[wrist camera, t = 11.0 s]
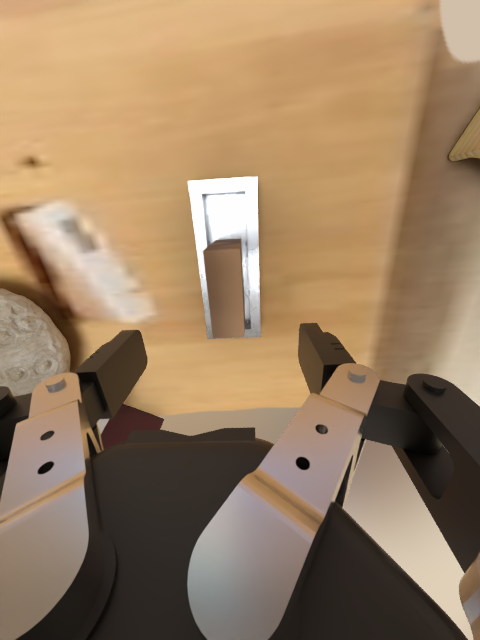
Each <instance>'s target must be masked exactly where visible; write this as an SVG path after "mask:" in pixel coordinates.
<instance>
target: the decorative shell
mask: <svg viewBox="0 0 480 640" xmlns="http://www.w3.org/2000/svg"><path fill="white" fill-rule="evenodd" d="M70 357H71V356H70V351H69V346H68V343H67V341H66V339H65V338H64V336H63V335H62V333H61V332H60V330H59V329H58V328H57V327H56V326H55V325H54V323H53V322H52V320H51V318H50V317H49V316H48V315H47V314H46V313H45V312H44V311H43V310H42V309H41V308H40V307H38V306H37V305H36V304H35V303H33V302H32V301H31V300H30V299H28V298H26V297H24V296H22V295H17V294H15V293H13V292H10V291H8V290H6V289H0V386H6V387H8V388H9V389H10V391H11V392H12V394H13V396H14V397H15V396H20V395H24V394H29V393H32V392H33V390H34V388H35V387H36V386H37V385H38V384H40V383H41V382H43V381H44V380H46V379H48V378H50V377H53V376H55V375H59V374H63V373H70Z"/></svg>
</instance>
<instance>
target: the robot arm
mask: <svg viewBox="0 0 480 640" xmlns="http://www.w3.org/2000/svg"><path fill="white" fill-rule="evenodd" d="M298 358H299V363H300V366H301V369H302V372H303V374H304V377H305V380H306V382H307V385H308V388H309V390H310V393H311V394H310V395H309V397H308V398H307V400H306V401H305V402H304V404H303V405H302V407H301V408H300V409H299V411H298V412H297V414H296V415H295V417H294V418H293V419H292V421H291V422H290V423H289V425H288V426H287V428H286V429H285V431H284V432H283V433H282V435H281V436H280V437H279V439H278V440H277V442H276V443H275V444H272V443H270V442H268V441H265V440H262V439H258V438H255V428H224V429H219V430H215V431H211V432H207V433H203V434H199V435H195V436H187V435H182V434H178V433H174V432H169V431H165V430H132V431H131V433H130V435H129V436H128V438H127V440H126V441H125V442H122V443H119V444H116V445H113V446H111V447H109V448H107V449H105V450H104V449H103V444H102V439H101V434H100V430H99V427H98V424H97V422H98V421H99V419H113V418H114V416H115V415H116V413H117V412H118V410H119V409H120V407H121V406H122V404H123V403H124V401H125V399H126V398H127V396H128V395H129V393H130V392H131V390H132V389H133V387H134V386H135V384H136V383H137V381H138V380H139V378H140V376H141V375H142V373H143V372H144V370H145V369H146V366H147V355H146V351H145V347H144V343H143V339H142V335H141V332H140V331H139V330H123V331H121V332H120V333H119V334H118V335H117V336H116V337H115V338H113V339H112V340H111V341H110V342H108V343H106V344H104V345H102V346H101V347H100V348H99V349H98V350H97V351H96V352H95V353H93V354H92V355H91V356H90V358H88V359H87V360H86V361H85V362H83V363H82V364H81V365H80V366H79V367H78V368H77V369H76V370H75V371H74V372H72V373H63V374H59V375H55V376H53V377H50V378H48V379H46V380H44V381H43V382H41V383H40V384H38V385H37V386H36V387H35V388H34V390H33V392H32V393H29V394H24V395H20V396H15V397H14V396H13V394H12V392H11V391H10V389H9V388H8V387H6V386H0V496H1V500H0V640H468V639H467V638H466V636H465V635H464V634H463V633H462V631H461V630H460V629H459V628H458V627H457V626H456V624H455V623H454V622H453V621H452V620H451V618H450V617H449V616H448V615H447V614H446V613H445V612H444V611H443V610H442V609H441V608H440V607H439V606H438V604H437V603H435V601H434V600H433V599H432V598H431V597H430V596H429V595H428V594H427V593H426V592H425V591H424V590H423V589H422V588H421V587H419V585H418V584H417V583H416V582H415V581H414V580H413V579H412V578H411V577H410V576H409V575H408V574H407V573H406V572H405V571H404V570H403V569H402V568H401V567H400V566H399V565H398V564H397V563H396V562H395V561H394V560H393V559H392V558H391V557H390V556H389V555H388V554H387V553H386V552H385V551H384V550H383V549H382V548H381V547H380V546H379V545H378V544H377V543H376V542H375V541H374V540H373V539H372V538H371V537H370V536H369V535H368V534H367V533H366V532H365V531H364V530H363V529H362V528H361V527H360V526H359V524H357V523H356V521H355V520H354V519H352V517H351V516H350V515H349V514H348V513H347V512H346V511H345V510H344V507H345V504H346V501H347V498H348V494H349V490H350V487H351V483H352V480H353V477H354V474H355V471H356V468H357V465H358V462H359V459H360V456H361V453H362V450H363V448H364V444H365V442H366V439H367V440H371V441H375V442H379V443H383V444H387V445H391V446H392V447H393V449H394V450H395V452H396V454H397V456H398V457H399V459H400V461H401V463H402V464H403V466H404V468H405V470H406V471H407V473H408V475H409V477H410V478H411V480H412V482H413V484H414V485H415V487H416V489H417V491H418V493H419V494H420V496H421V498H422V499H423V501H424V503H425V505H426V507H427V508H428V510H429V511H430V513H431V515H432V517H433V519H434V521H435V522H436V524H437V526H438V527H439V529H440V531H441V533H442V534H443V536H444V538H445V540H446V541H447V543H448V545H449V547H450V548H451V550H452V552H453V554H454V555H455V557H456V559H457V561H458V563H459V564H460V566H461V568H462V570H463V571H464V573H465V574H464V576H463V577H462V579H461V580H460V584H459V595H460V600H461V603H462V607H463V609H464V611H465V614H466V617H467V619H468V621H469V624H470V626H471V630H472V634H473V638H474V640H480V407H479V406H478V405H477V404H476V403H475V402H474V401H472V400H471V399H470V398H469V397H468V396H467V395H466V394H464V393H463V392H462V391H461V390H460V389H459V388H457V387H456V386H455V385H454V384H452V383H450V382H449V381H447V380H445V379H442V378H440V377H437V376H433V375H429V374H413V375H411V376H409V377H408V379H407V383H406V385H404V384H398V383H392V382H386V381H382V380H380V378H379V376H378V374H377V373H376V372H375V371H373V370H372V369H370V368H368V367H366V366H364V365H360V364H356V362H355V361H354V360H353V358H352V357H351V356H350V354H349V353H348V352H347V350H346V349H345V348H344V346H343V345H342V344H341V343H340V341H339V340H338V339H337V337H335V336H334V335H332V334H330V333H329V332H322V330H321V329H320V327H319V326H318V324H317V323H302V324H300V329H299V347H298ZM444 447H445V448H446V449H447V450H446V449H445V448H444ZM448 452H449V453H448Z"/></svg>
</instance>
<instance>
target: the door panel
mask: <svg viewBox="0 0 480 640" xmlns="http://www.w3.org/2000/svg"><path fill="white" fill-rule="evenodd" d="M203 256H204V265H205V274H206V282H207V291H208V300H209V308H210V317H211V326H212V334H213V338H234V337H245V300H244V287H243V267H242V240H241V238H237V239H220V240H215V241H214V242H213V243H212V244H210V245H209V246H208V247H207V248H206V249H205V250H203Z"/></svg>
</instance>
